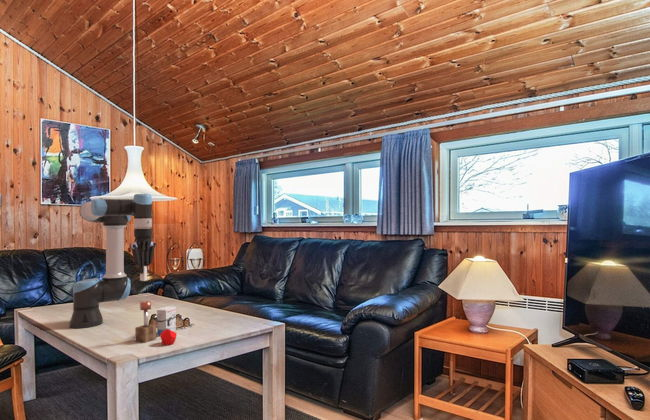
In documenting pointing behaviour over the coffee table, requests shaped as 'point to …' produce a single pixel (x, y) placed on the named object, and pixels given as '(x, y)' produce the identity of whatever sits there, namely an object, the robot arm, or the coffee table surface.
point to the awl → (145, 311)
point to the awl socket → (145, 333)
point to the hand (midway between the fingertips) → (143, 280)
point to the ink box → (166, 319)
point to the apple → (168, 337)
